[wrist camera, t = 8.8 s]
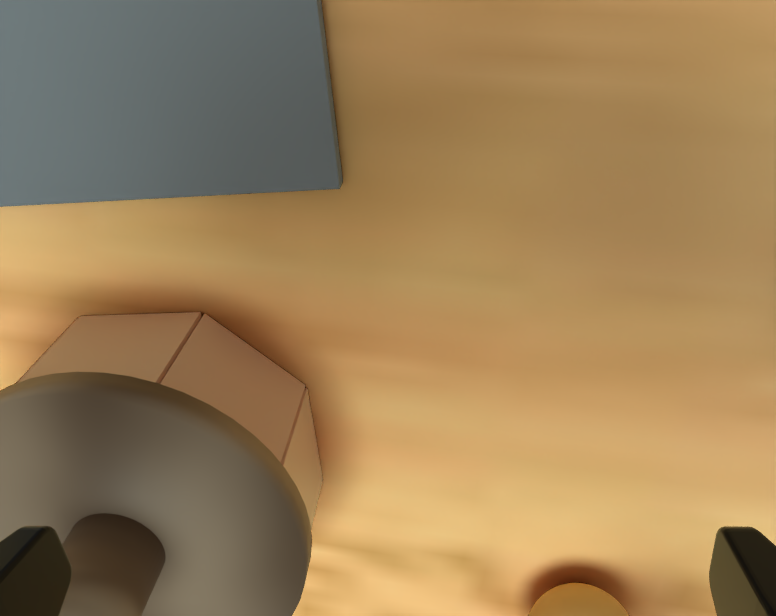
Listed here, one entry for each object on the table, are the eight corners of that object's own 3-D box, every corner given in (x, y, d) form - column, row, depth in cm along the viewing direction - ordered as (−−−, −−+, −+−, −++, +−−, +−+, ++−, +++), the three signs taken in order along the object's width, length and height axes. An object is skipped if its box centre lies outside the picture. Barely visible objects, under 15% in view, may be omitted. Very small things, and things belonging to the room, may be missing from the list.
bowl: (293, 308, 22) (263, 384, 18) (333, 539, 26) (314, 633, 23) (-7, 318, 23) (-90, 391, 19) (83, 538, 28) (30, 627, 24)
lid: (280, 366, 18) (224, 512, 14) (333, 643, 23) (304, 811, 19) (-113, 376, 19) (-280, 511, 15) (22, 636, 24) (-72, 792, 20)
